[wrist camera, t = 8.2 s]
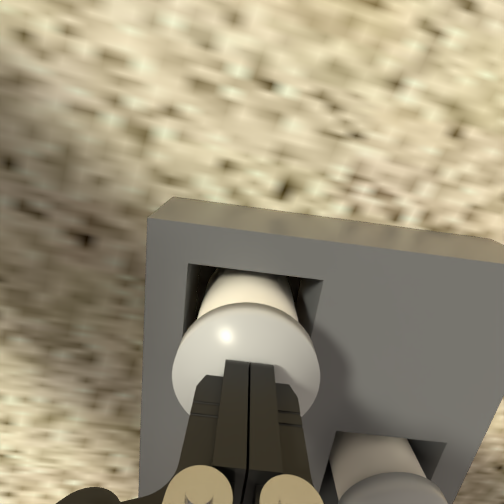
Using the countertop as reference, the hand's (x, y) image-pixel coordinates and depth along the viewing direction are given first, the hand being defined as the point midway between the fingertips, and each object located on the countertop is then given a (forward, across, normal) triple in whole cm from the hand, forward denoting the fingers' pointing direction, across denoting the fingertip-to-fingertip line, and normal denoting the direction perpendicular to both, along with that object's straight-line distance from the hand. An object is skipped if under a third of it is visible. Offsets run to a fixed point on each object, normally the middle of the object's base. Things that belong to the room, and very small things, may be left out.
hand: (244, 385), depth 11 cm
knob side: (+6, -7, +7) cm, 12 cm away
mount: (+7, -3, +7) cm, 10 cm away
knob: (+6, 0, 0) cm, 6 cm away
